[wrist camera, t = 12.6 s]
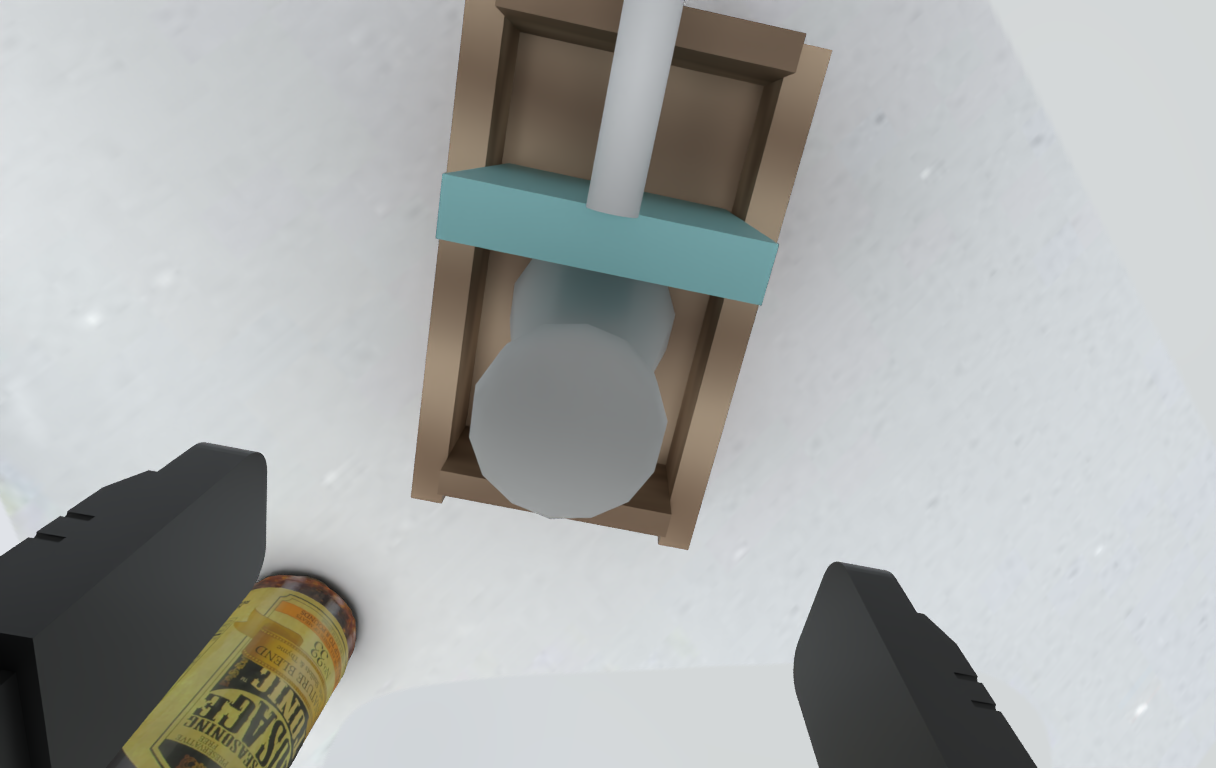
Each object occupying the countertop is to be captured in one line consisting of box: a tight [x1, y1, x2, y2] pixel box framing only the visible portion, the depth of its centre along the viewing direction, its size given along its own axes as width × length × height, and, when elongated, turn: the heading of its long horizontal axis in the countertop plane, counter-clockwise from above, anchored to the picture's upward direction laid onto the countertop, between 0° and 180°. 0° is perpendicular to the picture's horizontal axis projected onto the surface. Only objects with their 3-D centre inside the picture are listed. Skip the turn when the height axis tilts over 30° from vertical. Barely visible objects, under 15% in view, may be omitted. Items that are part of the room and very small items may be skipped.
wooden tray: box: [411, 0, 832, 550], centre depth 24 cm, size 18×11×6 cm, turn 169°
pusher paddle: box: [436, 0, 779, 305], centre depth 18 cm, size 8×8×10 cm
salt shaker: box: [469, 259, 675, 519], centre depth 19 cm, size 6×6×13 cm
